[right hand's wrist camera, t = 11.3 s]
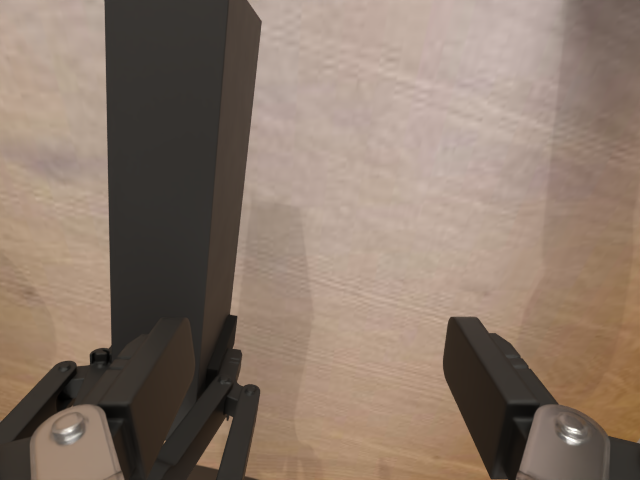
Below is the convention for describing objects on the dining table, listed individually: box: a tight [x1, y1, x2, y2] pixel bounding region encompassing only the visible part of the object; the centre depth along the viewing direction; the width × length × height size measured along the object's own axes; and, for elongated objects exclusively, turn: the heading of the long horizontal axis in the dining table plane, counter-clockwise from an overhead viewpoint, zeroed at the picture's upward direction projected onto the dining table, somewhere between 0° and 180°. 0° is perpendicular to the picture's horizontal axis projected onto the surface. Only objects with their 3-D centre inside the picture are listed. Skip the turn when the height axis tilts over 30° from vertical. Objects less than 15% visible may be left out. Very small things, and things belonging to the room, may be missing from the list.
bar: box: [105, 0, 262, 440], centre depth 24 cm, size 26×5×9 cm, turn 170°
